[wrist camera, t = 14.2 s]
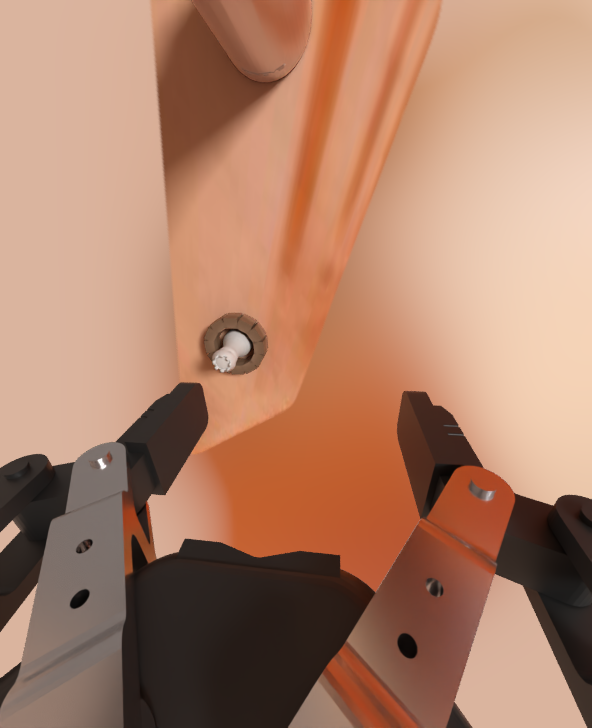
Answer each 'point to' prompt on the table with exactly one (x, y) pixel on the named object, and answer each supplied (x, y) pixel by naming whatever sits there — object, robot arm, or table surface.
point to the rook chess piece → (231, 350)
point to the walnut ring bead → (244, 325)
